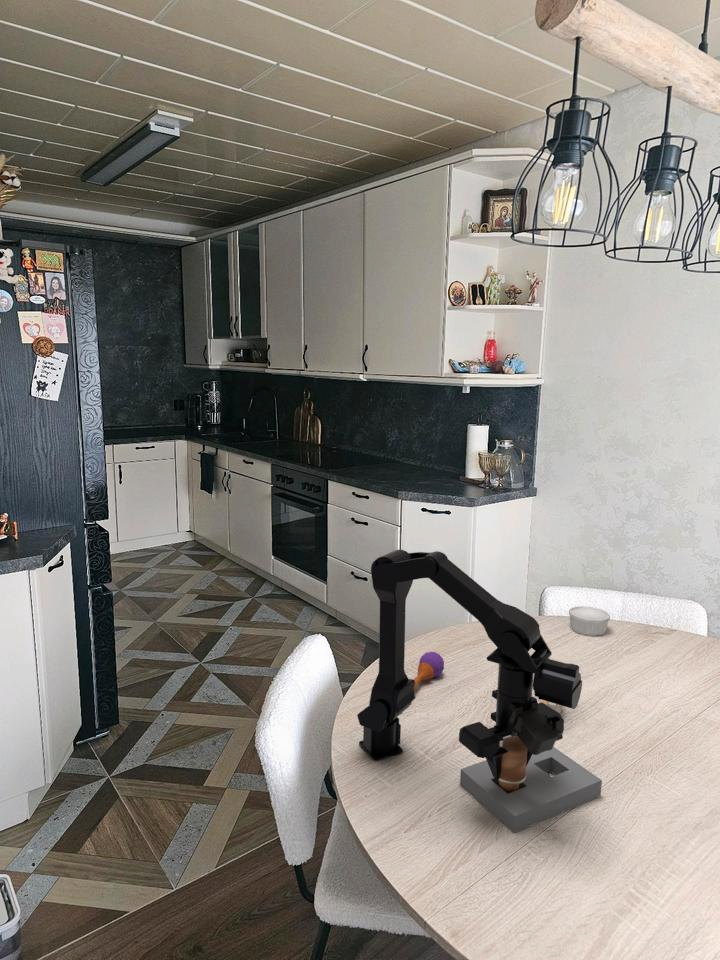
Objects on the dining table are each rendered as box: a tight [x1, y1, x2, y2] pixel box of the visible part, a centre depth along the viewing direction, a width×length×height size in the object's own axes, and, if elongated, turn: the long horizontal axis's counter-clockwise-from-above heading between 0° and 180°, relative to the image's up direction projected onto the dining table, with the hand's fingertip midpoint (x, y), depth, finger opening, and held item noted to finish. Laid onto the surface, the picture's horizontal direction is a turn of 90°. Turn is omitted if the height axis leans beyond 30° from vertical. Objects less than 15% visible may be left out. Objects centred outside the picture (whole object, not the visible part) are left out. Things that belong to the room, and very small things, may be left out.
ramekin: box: [568, 605, 611, 637], centre depth 188 cm, size 11×11×5 cm
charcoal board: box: [459, 746, 603, 834], centre depth 116 cm, size 20×14×3 cm
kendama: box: [414, 651, 445, 692], centre depth 152 cm, size 6×6×20 cm
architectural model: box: [540, 700, 563, 714], centre depth 142 cm, size 3×7×7 cm, turn 150°
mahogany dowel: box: [498, 736, 527, 794], centre depth 113 cm, size 6×6×9 cm
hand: (509, 773), depth 113 cm, fingers closed on mahogany dowel, 5 cm apart
